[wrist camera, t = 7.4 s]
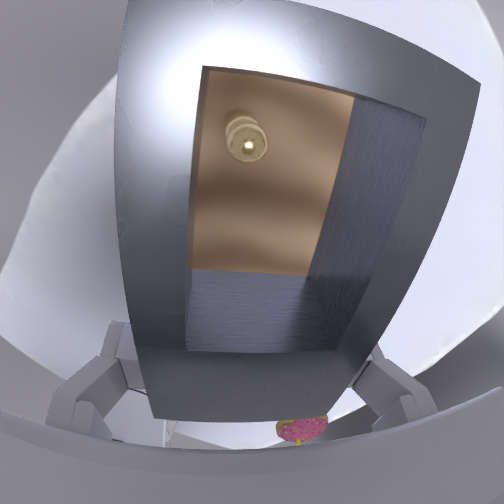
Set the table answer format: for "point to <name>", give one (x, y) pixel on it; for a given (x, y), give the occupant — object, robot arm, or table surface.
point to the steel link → (335, 221)
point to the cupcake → (301, 428)
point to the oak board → (267, 175)
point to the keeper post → (245, 137)
